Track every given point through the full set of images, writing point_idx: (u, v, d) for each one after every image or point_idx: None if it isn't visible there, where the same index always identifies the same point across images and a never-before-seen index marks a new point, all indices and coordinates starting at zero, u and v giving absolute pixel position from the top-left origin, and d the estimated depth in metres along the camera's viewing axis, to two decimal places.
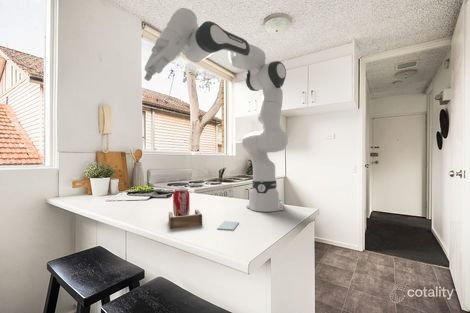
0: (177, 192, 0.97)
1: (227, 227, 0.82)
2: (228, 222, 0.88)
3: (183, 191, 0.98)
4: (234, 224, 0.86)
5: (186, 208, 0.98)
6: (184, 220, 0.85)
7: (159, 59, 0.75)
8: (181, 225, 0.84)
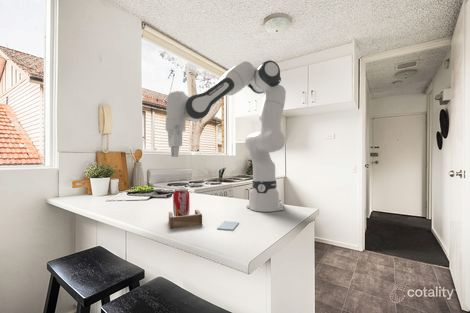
0: (177, 192, 0.97)
1: (227, 227, 0.82)
2: (228, 222, 0.88)
3: (183, 191, 0.98)
4: (234, 224, 0.86)
5: (186, 208, 0.98)
6: (184, 220, 0.85)
7: None
8: (181, 225, 0.84)
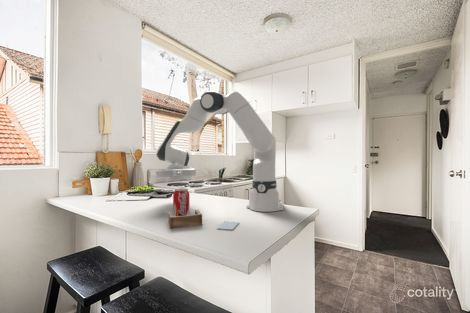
0: (177, 192, 0.97)
1: (226, 227, 0.82)
2: (228, 222, 0.88)
3: (183, 191, 0.98)
4: (235, 224, 0.86)
5: (186, 208, 0.98)
6: (184, 220, 0.85)
7: None
8: (181, 225, 0.84)
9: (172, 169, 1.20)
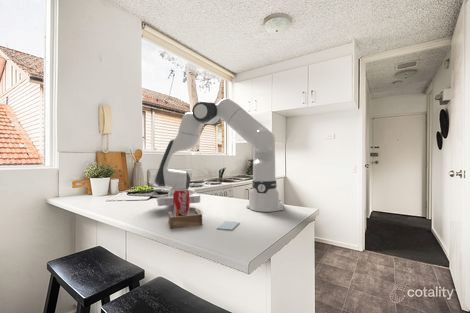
0: (177, 192, 0.97)
1: (226, 227, 0.82)
2: (228, 222, 0.88)
3: (183, 191, 0.97)
4: (235, 224, 0.86)
5: (186, 208, 0.98)
6: (184, 220, 0.85)
7: None
8: (181, 225, 0.84)
9: None
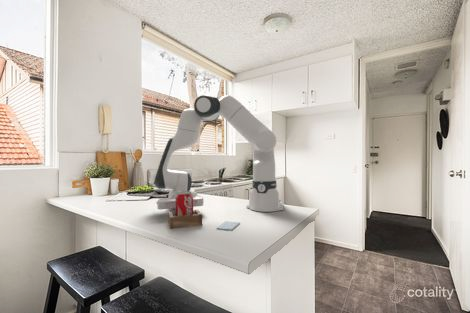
0: (182, 196, 0.88)
1: (226, 227, 0.82)
2: (228, 222, 0.88)
3: (189, 194, 0.90)
4: (235, 224, 0.86)
5: (192, 212, 0.90)
6: (184, 220, 0.85)
7: None
8: (181, 225, 0.84)
9: (175, 198, 1.04)
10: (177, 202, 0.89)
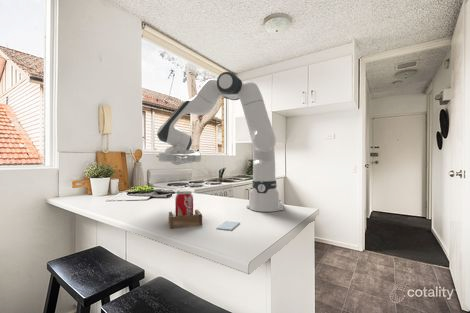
0: (182, 196, 0.88)
1: (226, 227, 0.82)
2: (229, 222, 0.88)
3: (189, 194, 0.90)
4: (235, 224, 0.86)
5: (192, 212, 0.90)
6: (184, 220, 0.85)
7: None
8: (181, 225, 0.84)
9: (175, 153, 1.11)
10: (177, 202, 0.89)
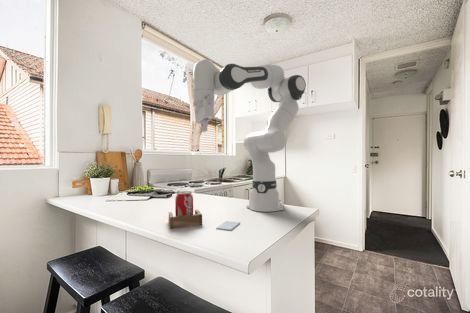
0: (182, 196, 0.88)
1: (226, 227, 0.82)
2: (229, 222, 0.88)
3: (189, 194, 0.90)
4: (235, 224, 0.86)
5: (192, 212, 0.90)
6: (184, 220, 0.85)
7: None
8: (181, 225, 0.84)
9: None
10: (177, 202, 0.89)
